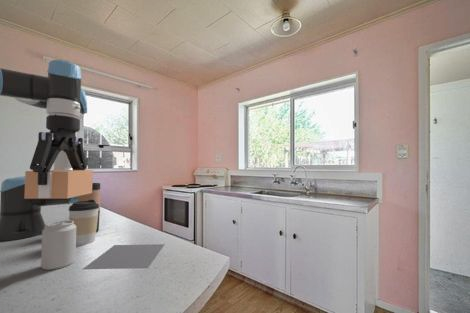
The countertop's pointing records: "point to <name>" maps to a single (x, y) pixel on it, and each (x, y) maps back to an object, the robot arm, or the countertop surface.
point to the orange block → (61, 184)
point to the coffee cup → (84, 220)
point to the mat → (126, 257)
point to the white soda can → (58, 245)
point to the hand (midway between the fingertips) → (61, 194)
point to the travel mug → (93, 198)
